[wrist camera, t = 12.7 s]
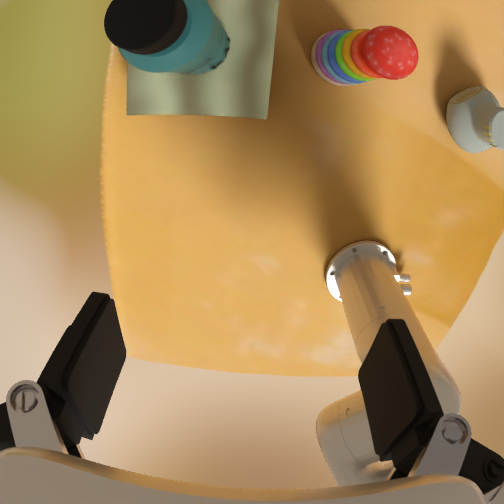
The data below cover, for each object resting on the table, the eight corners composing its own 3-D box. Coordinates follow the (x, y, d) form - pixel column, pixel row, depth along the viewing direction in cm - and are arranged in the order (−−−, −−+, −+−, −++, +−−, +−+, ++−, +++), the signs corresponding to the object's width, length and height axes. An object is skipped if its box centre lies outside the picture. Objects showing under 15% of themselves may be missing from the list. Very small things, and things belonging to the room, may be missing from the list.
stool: (276, 1, 31) (280, -15, 24) (265, 111, 39) (266, 119, 32) (155, 0, 30) (134, -13, 23) (148, 107, 38) (126, 115, 32)
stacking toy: (325, 94, 38) (374, 109, 22) (299, 42, 34) (331, 18, 18) (375, 75, 36) (449, 83, 20) (351, 24, 32) (414, -3, 16)
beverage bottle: (161, 45, 28) (57, 24, 10) (210, 9, 25) (154, -61, 8) (195, 87, 30) (121, 104, 13) (246, 52, 28) (231, 18, 11)
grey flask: (477, 79, 34) (517, 87, 25) (493, 124, 37) (532, 140, 28) (431, 106, 37) (469, 118, 29) (450, 152, 41) (487, 173, 32)
